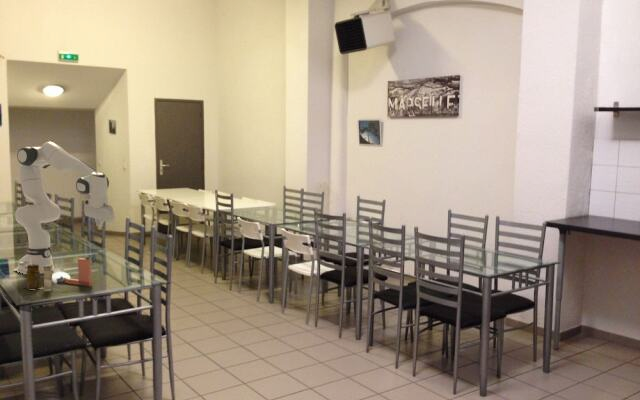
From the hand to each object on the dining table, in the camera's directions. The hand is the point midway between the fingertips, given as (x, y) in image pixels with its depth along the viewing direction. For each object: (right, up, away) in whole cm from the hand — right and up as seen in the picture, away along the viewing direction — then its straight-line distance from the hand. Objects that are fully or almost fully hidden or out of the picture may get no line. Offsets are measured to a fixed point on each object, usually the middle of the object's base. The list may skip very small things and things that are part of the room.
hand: (99, 226), depth 314 cm
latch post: (-17, -31, -22) cm, 42 cm away
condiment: (-26, -31, -19) cm, 45 cm away
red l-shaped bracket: (-7, -30, -10) cm, 33 cm away
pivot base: (-18, -30, -7) cm, 35 cm away
